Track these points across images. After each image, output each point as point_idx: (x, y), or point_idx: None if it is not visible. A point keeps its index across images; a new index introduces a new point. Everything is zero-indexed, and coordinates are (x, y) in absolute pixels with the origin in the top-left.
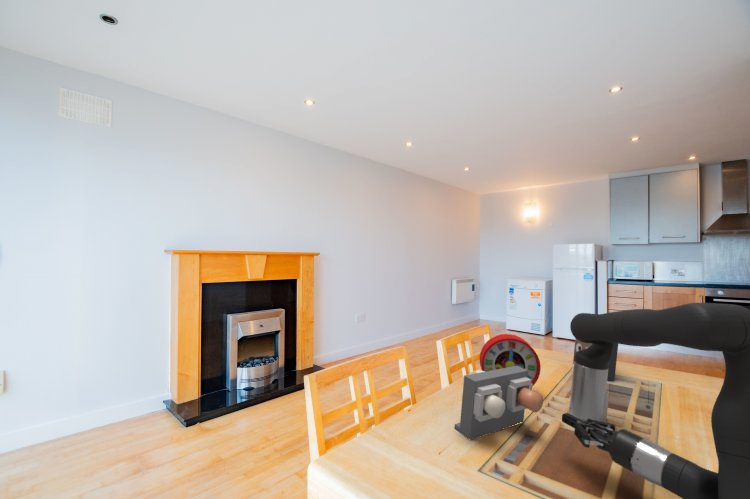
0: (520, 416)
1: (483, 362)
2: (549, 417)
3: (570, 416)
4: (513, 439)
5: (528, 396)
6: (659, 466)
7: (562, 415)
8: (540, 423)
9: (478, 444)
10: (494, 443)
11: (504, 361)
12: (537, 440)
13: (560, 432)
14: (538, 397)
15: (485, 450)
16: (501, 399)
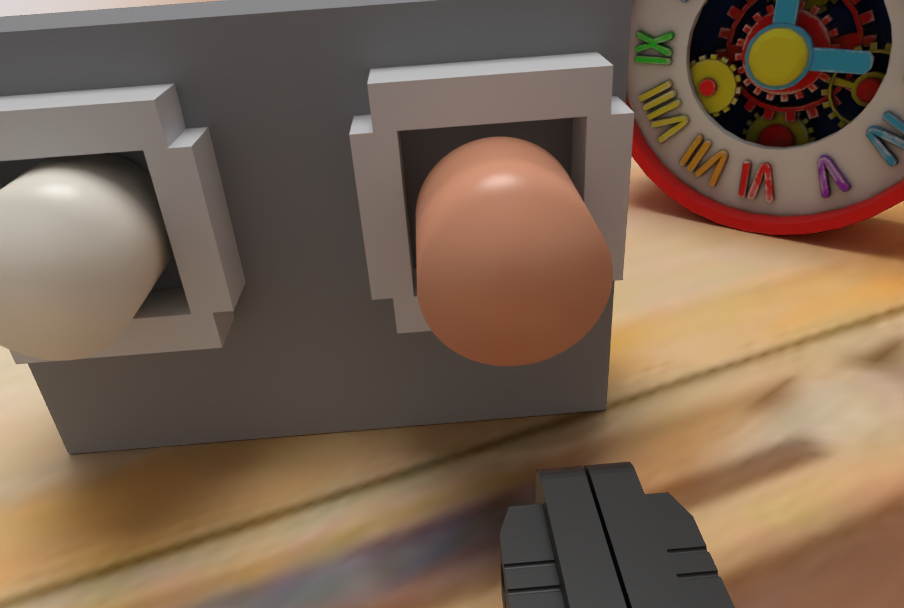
0: (568, 367)
1: None
2: (889, 405)
3: (587, 551)
4: (348, 517)
5: (433, 209)
6: None
7: (538, 486)
8: (748, 437)
9: (62, 496)
10: (169, 515)
11: (753, 36)
12: None
13: (857, 551)
14: (522, 225)
15: (22, 553)
16: (34, 206)
